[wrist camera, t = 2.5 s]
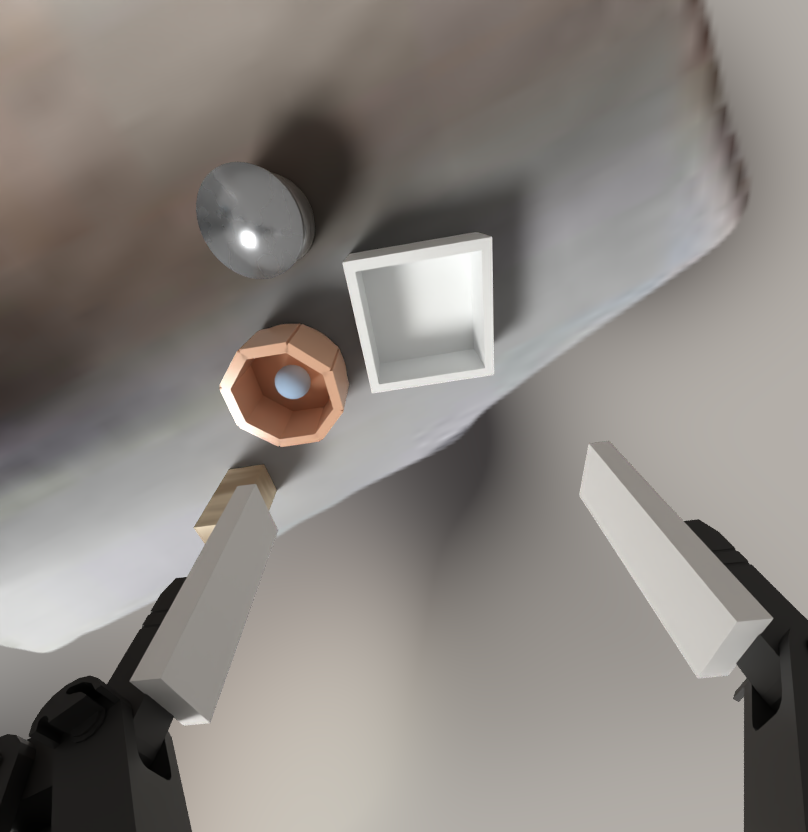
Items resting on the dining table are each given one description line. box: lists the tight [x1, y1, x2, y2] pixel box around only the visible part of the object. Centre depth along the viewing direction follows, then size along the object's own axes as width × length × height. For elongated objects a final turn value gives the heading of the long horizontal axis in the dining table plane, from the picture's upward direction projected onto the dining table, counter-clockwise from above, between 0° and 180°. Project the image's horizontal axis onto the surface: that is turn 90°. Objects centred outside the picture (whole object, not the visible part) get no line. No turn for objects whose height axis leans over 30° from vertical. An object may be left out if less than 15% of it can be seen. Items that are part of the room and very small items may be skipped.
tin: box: [196, 162, 315, 279], centre depth 23 cm, size 6×6×5 cm
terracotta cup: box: [219, 323, 349, 447], centre depth 30 cm, size 9×9×6 cm
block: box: [194, 464, 277, 544], centre depth 35 cm, size 4×4×8 cm
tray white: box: [342, 232, 494, 393], centre depth 27 cm, size 10×10×5 cm
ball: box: [275, 365, 311, 399], centre depth 30 cm, size 3×3×3 cm
